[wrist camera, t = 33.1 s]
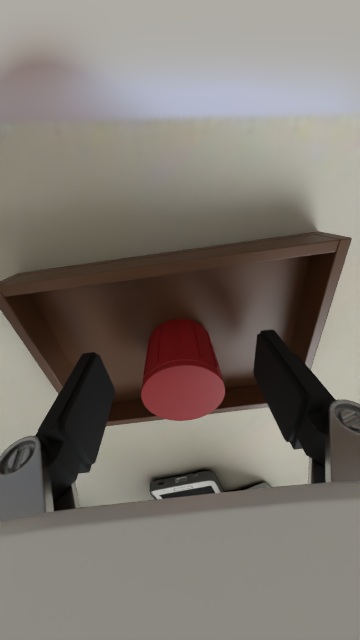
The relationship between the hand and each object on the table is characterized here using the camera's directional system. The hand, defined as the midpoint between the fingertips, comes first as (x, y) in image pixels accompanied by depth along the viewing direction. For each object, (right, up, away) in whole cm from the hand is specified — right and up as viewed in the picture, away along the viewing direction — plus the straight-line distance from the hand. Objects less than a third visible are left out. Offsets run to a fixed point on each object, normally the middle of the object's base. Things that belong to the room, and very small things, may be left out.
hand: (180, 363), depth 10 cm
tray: (0, +1, +2) cm, 2 cm away
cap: (0, +1, +2) cm, 2 cm away
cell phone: (+2, -21, +15) cm, 26 cm away
